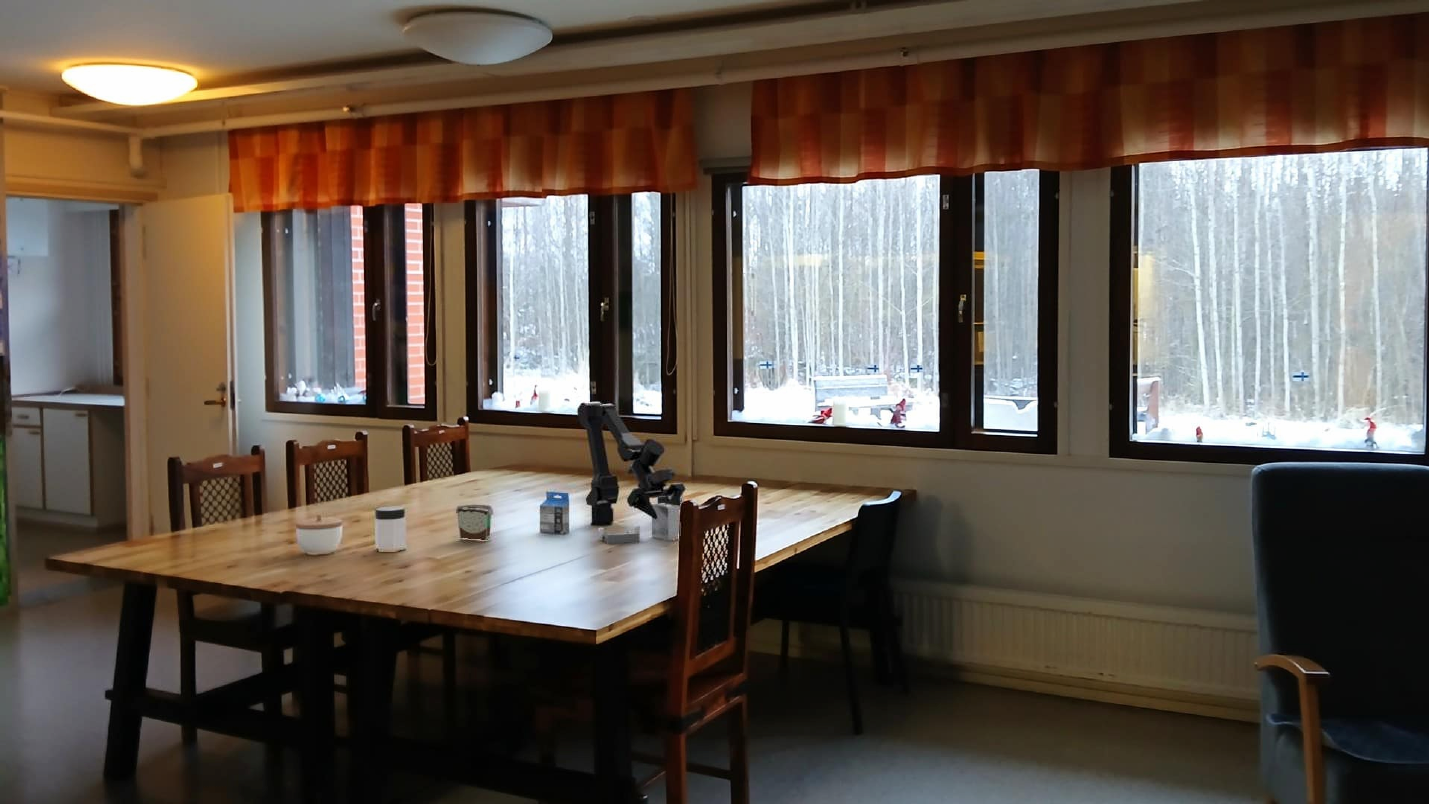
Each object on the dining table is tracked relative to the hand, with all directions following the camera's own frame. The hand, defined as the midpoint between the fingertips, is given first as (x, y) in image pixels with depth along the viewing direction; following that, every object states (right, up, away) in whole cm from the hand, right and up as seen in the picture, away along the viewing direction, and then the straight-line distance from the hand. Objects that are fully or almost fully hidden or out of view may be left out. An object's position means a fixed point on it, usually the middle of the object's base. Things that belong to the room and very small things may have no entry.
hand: (668, 516), depth 356 cm
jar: (-79, -8, -14) cm, 81 cm away
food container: (-57, -7, +2) cm, 57 cm away
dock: (-15, -7, +1) cm, 16 cm away
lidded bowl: (-98, -9, -18) cm, 100 cm away
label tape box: (-36, -6, +13) cm, 38 cm away
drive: (-1, -7, +2) cm, 7 cm away
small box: (0, -5, +28) cm, 28 cm away
